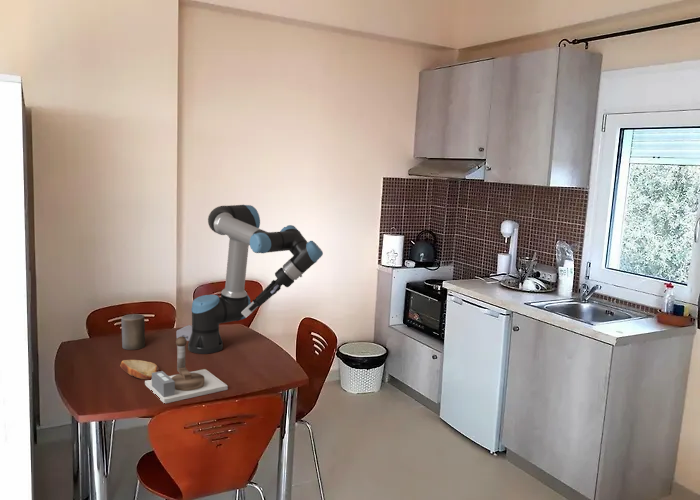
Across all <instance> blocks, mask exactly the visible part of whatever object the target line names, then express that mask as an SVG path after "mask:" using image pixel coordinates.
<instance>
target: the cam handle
mask: <svg viewBox="0 0 700 500" xmlns="http://www.w3.org/2000/svg"><path fill="white" fill-rule="evenodd" d="M187 342H188V341H187V340H186V338H184V337H178V338H176V339H175V345H176V357H177V359H176V360H177V361H176V370H177V374H178V375H177V374H174V375H175V376H173V377H172V378H171V379H172V380H173V381H175V389H177V390H193V389H197V388H200V387H202V386H203V385H204V376H203V375H201V374H198V373H190V372H191V371H189V370H188V369H187V367H186V345H187V344H188V343H187Z"/></svg>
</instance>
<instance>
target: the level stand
mask: <svg viewBox="0 0 700 500" xmlns="http://www.w3.org/2000/svg"><path fill="white" fill-rule="evenodd" d="M159 371H160V370H159ZM189 372H190V373H198V374H201V375H203V376H204V385H203V386H202V387H200V388H197V389H193V390H177V389H175V381H173V380H172V379H171V378H172V377H173V376H175V375H178V374H179V373H177V374H172V375H168V374H166V372H164V371H163V370H161V371H160V372H154V373H152V379H151V380H144V385H145V386H146V388H148V389H149V390H150V391H151V390H152V391H153V392H152V391H151V392H152V393H153V394H154V395H155V394H156V395H157V396H158V397H159V398H160V399H159V398H158V397H157V396H156V395H155V396H156V397H157V398H158V399H159V400H160V402H162V403H163V404H164V403H165V404H170V403H173V402H178V401H183V400H186V399H191V398H196V397H199V396H205V395H208V394H209V395H210V394H214V393H219V392H222V391H223V392H224V391H227V390H229V388H228V387H229V386H228V385H227V383H225V382H223V381H222V380H220V379H219V378H218V377H216V376H215V375H214V374H213V373H211V372H210V371H209V370H207V369H206V368H203V369H199V370H198V369H197V370H194V371H189Z"/></svg>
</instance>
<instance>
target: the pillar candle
mask: <svg viewBox="0 0 700 500" xmlns="http://www.w3.org/2000/svg"><path fill="white" fill-rule="evenodd" d="M120 319H121V320H120V321H121V345H122V349H124V350H130V351H133V350H140V349H144V348H145V347H146V336H145V333H146V330H145V323H146V322H145V315H143V314H140V313H132V314H130V313H129V314H126V315H123V316H121V318H120Z"/></svg>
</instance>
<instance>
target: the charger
mask: <svg viewBox="0 0 700 500" xmlns="http://www.w3.org/2000/svg"><path fill="white" fill-rule="evenodd" d="M175 333H176V334H175V335H176V339H177V338H178V337H184V338H186V340H187V342H189V340H190V337H191V334H192V324H191V325H190V324H187V325H186V326H183V327H181V328H179V329H177V330H176V332H175Z"/></svg>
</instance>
